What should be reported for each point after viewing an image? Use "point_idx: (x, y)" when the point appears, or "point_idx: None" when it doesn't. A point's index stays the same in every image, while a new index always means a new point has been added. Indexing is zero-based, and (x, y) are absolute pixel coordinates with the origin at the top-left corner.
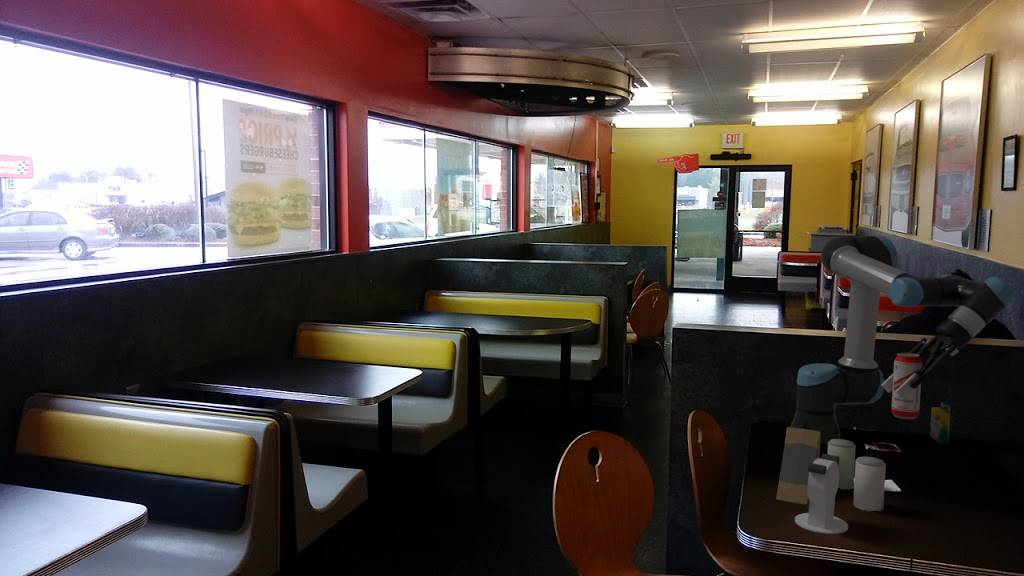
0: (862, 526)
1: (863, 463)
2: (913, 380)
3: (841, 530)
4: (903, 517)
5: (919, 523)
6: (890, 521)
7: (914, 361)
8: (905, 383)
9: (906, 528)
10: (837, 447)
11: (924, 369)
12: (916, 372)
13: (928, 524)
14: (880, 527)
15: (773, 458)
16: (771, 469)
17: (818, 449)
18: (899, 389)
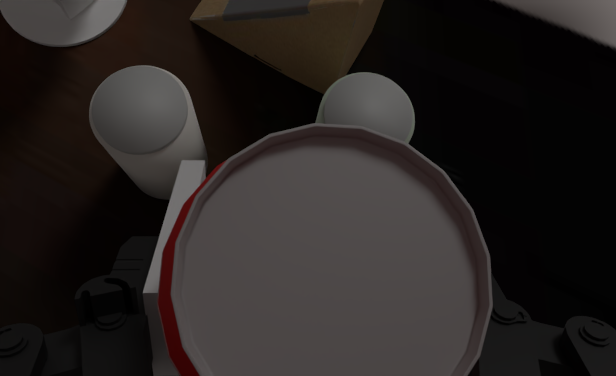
0: (34, 78)
1: (118, 72)
2: (144, 267)
3: (5, 11)
4: (80, 218)
5: (32, 239)
6: (56, 166)
7: (163, 280)
8: (168, 208)
9: (4, 184)
10: (331, 86)
11: (83, 373)
12: (112, 280)
13: (22, 261)
14: (21, 119)
15: (568, 76)
16: (467, 33)
17: (316, 18)
18: (179, 174)
